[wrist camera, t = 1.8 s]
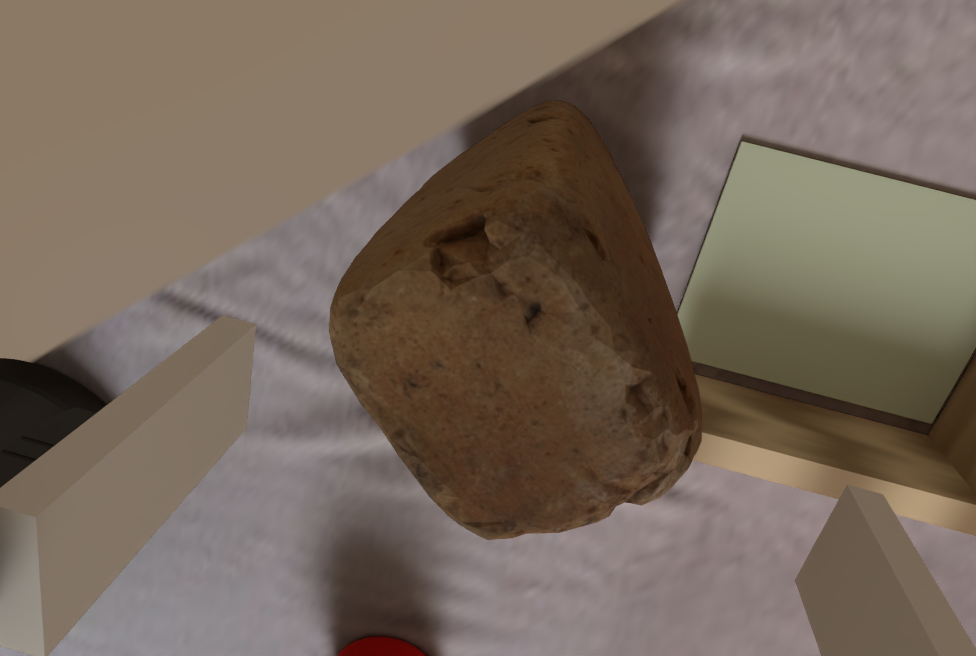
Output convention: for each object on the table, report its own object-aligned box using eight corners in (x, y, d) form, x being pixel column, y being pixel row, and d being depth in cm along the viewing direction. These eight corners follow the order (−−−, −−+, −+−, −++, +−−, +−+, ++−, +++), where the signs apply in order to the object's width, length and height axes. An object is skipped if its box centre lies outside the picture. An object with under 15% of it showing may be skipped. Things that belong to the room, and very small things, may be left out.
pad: (663, 351, 36) (663, 353, 36) (740, 140, 32) (741, 141, 32) (930, 422, 36) (931, 424, 36) (1047, 218, 31) (1050, 218, 31)
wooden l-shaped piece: (667, 393, 37) (680, 456, 32) (784, 89, 31) (825, 103, 25) (942, 466, 37) (1003, 543, 31) (1120, 172, 30) (1235, 205, 25)
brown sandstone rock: (437, 157, 34) (260, 309, 16) (575, 74, 32) (553, 142, 14) (545, 339, 37) (500, 642, 19) (678, 275, 35) (773, 552, 17)
